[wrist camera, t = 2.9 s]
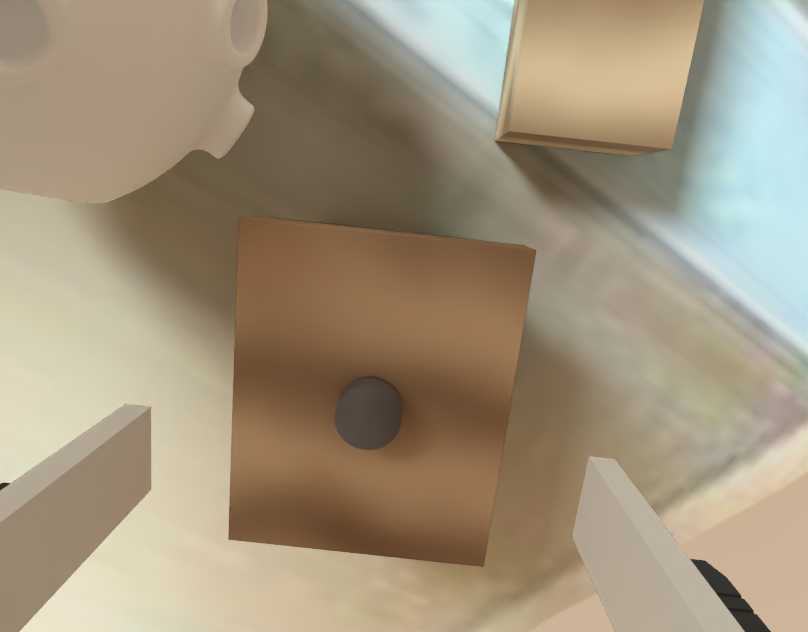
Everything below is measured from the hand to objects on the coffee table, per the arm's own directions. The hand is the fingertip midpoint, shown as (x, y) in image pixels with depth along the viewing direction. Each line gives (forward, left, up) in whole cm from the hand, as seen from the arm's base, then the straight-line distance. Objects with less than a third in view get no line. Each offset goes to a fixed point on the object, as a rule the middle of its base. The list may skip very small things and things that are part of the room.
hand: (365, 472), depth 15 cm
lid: (0, 0, -6) cm, 6 cm away
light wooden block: (+8, +17, -13) cm, 23 cm away
